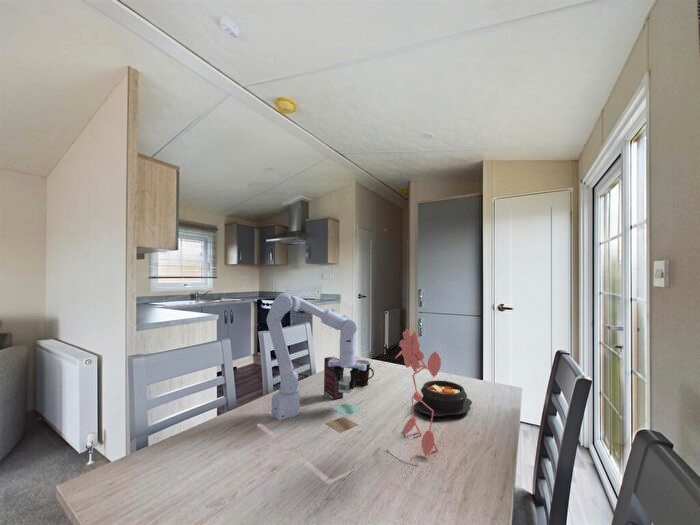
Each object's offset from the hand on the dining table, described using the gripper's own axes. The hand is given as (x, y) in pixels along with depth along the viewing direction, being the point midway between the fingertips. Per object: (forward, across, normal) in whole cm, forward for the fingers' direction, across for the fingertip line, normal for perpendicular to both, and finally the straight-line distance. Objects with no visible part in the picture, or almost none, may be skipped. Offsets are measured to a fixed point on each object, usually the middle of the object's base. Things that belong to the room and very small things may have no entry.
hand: (346, 387), depth 120 cm
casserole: (+9, +34, +16) cm, 38 cm away
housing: (+1, 0, 0) cm, 1 cm away
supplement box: (+9, -10, +10) cm, 16 cm away
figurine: (+9, +26, -15) cm, 31 cm away
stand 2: (+9, +3, -12) cm, 15 cm away
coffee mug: (+9, -3, +28) cm, 29 cm away
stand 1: (+9, 0, 0) cm, 9 cm away
